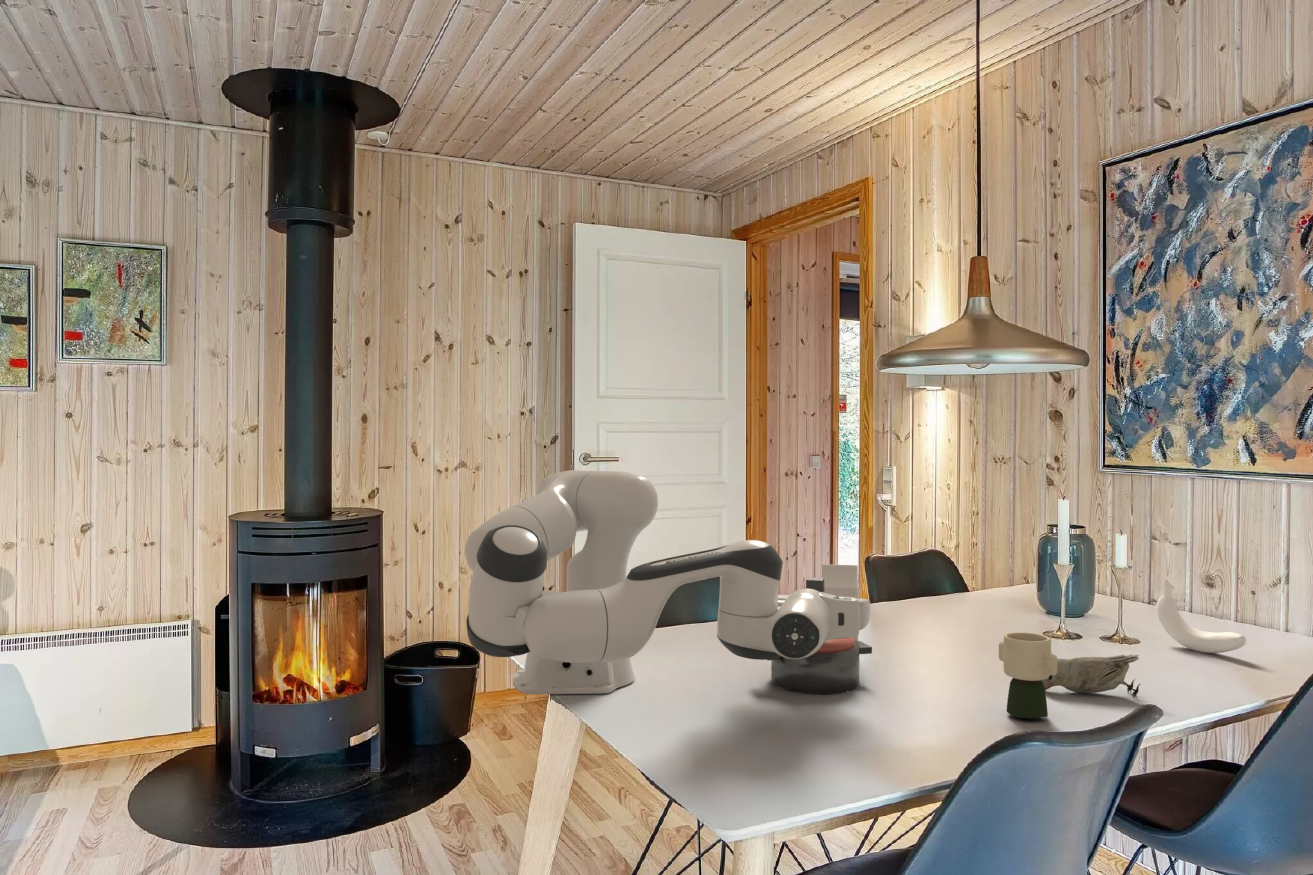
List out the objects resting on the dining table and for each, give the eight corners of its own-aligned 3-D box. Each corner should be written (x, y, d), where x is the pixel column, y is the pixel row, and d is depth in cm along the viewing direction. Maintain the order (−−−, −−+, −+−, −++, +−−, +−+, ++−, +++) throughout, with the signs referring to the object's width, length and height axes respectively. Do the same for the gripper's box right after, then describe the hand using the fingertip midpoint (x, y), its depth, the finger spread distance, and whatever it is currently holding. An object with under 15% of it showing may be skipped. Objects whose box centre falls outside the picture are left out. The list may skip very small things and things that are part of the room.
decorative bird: (1036, 687, 160) (1036, 646, 160) (1133, 693, 157) (1133, 651, 157) (1043, 696, 155) (1043, 654, 155) (1143, 702, 151) (1143, 659, 151)
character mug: (1071, 723, 140) (1071, 641, 140) (1041, 730, 136) (1041, 646, 136) (1014, 704, 149) (1014, 627, 149) (984, 711, 146) (984, 632, 146)
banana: (1242, 664, 175) (1242, 590, 175) (1149, 643, 192) (1150, 576, 192) (1256, 661, 177) (1256, 588, 177) (1163, 641, 194) (1163, 574, 194)
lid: (851, 655, 155) (851, 587, 154) (771, 650, 159) (771, 583, 158) (856, 638, 168) (856, 574, 168) (783, 633, 172) (783, 571, 172)
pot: (779, 698, 153) (779, 658, 153) (748, 673, 169) (748, 637, 169) (886, 690, 158) (886, 650, 158) (846, 667, 174) (846, 631, 173)
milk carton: (858, 663, 177) (858, 568, 176) (821, 661, 178) (821, 567, 178) (857, 654, 184) (857, 562, 183) (822, 652, 185) (822, 561, 185)
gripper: (746, 630, 153) (759, 614, 166) (867, 638, 147) (871, 621, 161) (746, 594, 153) (759, 581, 166) (867, 600, 147) (871, 586, 161)
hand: (815, 601), depth 163 cm, fingers open, 8 cm apart
